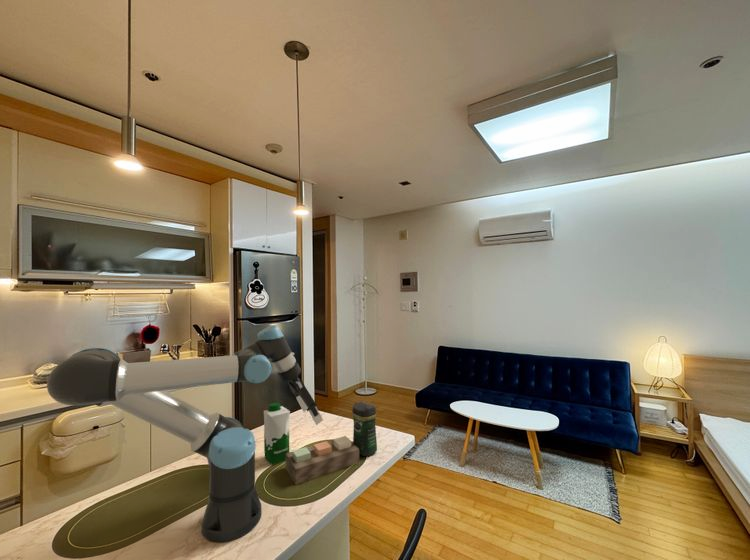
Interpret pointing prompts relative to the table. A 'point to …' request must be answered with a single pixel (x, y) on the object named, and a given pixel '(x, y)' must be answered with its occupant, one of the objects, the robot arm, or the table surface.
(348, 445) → the cream button
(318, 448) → the terracotta button
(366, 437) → the coffee jar
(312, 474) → the button console
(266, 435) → the milk carton
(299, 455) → the sage button
